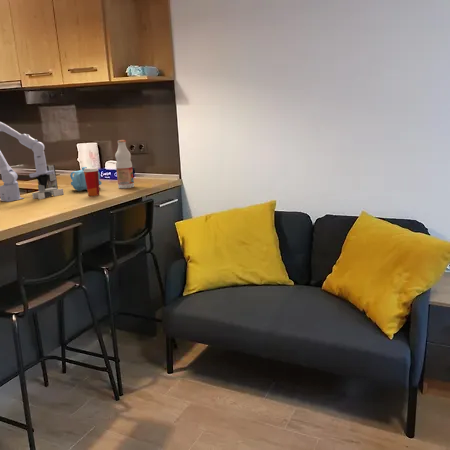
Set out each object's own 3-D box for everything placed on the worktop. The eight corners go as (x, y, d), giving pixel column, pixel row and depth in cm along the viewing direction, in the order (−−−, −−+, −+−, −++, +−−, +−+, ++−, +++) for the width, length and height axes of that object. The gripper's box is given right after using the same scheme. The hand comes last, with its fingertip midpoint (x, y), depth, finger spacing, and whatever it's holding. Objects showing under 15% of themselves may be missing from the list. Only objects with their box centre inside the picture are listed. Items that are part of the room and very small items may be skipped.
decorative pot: (103, 189, 275) (101, 167, 272) (76, 193, 268) (73, 169, 265) (97, 186, 289) (94, 164, 286) (70, 189, 282) (67, 167, 279)
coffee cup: (95, 193, 264) (92, 167, 260) (104, 194, 259) (101, 167, 255) (83, 195, 258) (79, 169, 254) (91, 197, 253) (88, 169, 249)
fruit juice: (116, 187, 281) (111, 140, 274) (130, 185, 286) (126, 139, 279) (121, 189, 273) (116, 141, 266) (136, 187, 278) (132, 139, 271)
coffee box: (58, 191, 277) (55, 164, 273) (52, 193, 271) (48, 166, 267) (45, 191, 280) (42, 164, 276) (39, 193, 274) (34, 166, 270)
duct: (39, 199, 254) (38, 193, 253) (32, 198, 257) (32, 193, 256) (63, 194, 267) (63, 188, 266) (57, 193, 270) (56, 188, 269)
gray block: (45, 198, 258) (44, 193, 258) (41, 197, 261) (41, 193, 260) (51, 196, 261) (51, 192, 261) (48, 196, 264) (47, 192, 263)
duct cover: (44, 191, 256) (43, 185, 255) (38, 191, 259) (37, 185, 258) (57, 189, 263) (57, 183, 263) (52, 188, 266) (51, 182, 265)
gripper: (33, 166, 248) (37, 191, 251) (56, 162, 259) (59, 186, 263) (25, 165, 252) (29, 190, 255) (48, 162, 263) (51, 186, 267)
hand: (44, 188), depth 259 cm, fingers closed
